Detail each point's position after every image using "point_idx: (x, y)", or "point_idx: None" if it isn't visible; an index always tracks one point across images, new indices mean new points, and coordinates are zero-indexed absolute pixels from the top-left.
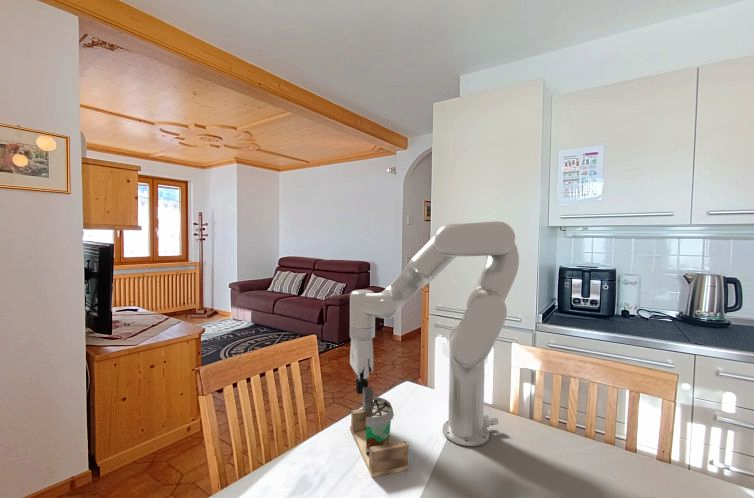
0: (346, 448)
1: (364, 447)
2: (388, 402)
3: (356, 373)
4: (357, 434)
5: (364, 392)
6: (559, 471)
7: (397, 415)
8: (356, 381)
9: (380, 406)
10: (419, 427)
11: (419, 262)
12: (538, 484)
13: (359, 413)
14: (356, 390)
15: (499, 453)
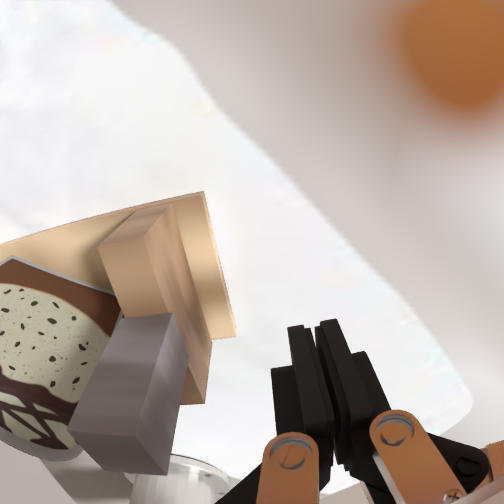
0: (62, 175)
1: (42, 251)
2: (51, 456)
3: (416, 450)
4: None
5: (86, 415)
6: (93, 496)
7: None
8: (351, 392)
9: (26, 417)
10: (206, 425)
11: None
12: (57, 472)
13: (114, 285)
14: (325, 327)
15: (116, 481)
